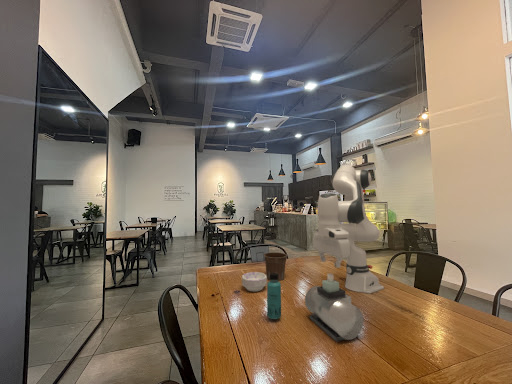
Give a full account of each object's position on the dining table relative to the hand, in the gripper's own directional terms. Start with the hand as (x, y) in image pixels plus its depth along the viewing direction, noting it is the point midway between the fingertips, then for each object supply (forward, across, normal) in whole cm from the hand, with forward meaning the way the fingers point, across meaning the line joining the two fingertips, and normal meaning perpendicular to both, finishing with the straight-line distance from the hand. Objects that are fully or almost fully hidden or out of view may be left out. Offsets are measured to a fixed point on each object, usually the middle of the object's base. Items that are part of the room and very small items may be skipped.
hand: (330, 264), depth 93 cm
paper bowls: (+26, -51, -17) cm, 60 cm away
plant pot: (+26, -64, +3) cm, 69 cm away
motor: (+26, -2, 0) cm, 26 cm away
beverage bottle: (+26, -14, -20) cm, 36 cm away
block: (+12, 0, 0) cm, 12 cm away
